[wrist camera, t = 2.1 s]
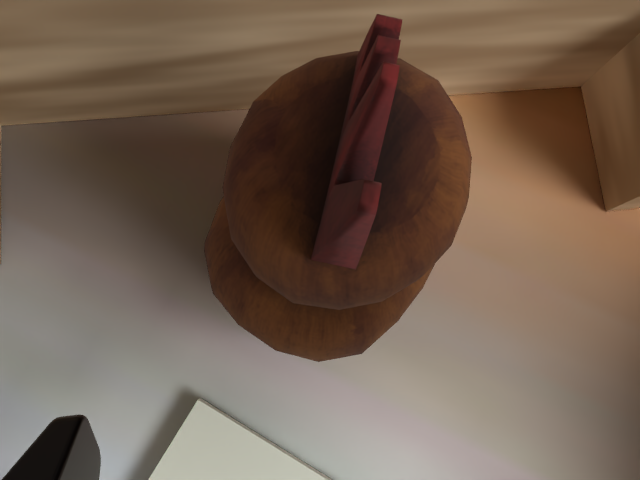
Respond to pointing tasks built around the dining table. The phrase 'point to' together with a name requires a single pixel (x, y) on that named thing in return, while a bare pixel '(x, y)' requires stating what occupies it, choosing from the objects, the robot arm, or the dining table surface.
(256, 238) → the wooden figurine
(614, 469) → the dining table surface
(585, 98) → the shelf bay
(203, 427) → the board
